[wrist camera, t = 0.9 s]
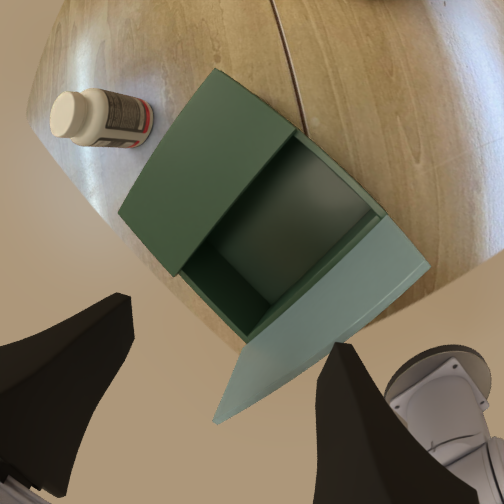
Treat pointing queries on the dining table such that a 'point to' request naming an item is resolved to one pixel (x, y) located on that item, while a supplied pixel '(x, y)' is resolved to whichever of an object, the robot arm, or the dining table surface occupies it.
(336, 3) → the dining table surface
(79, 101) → the pill bottle
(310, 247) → the seed box
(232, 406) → the hatch
